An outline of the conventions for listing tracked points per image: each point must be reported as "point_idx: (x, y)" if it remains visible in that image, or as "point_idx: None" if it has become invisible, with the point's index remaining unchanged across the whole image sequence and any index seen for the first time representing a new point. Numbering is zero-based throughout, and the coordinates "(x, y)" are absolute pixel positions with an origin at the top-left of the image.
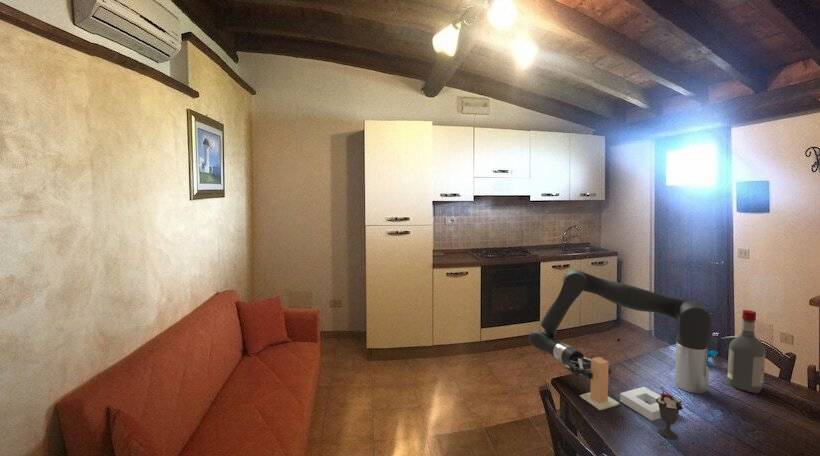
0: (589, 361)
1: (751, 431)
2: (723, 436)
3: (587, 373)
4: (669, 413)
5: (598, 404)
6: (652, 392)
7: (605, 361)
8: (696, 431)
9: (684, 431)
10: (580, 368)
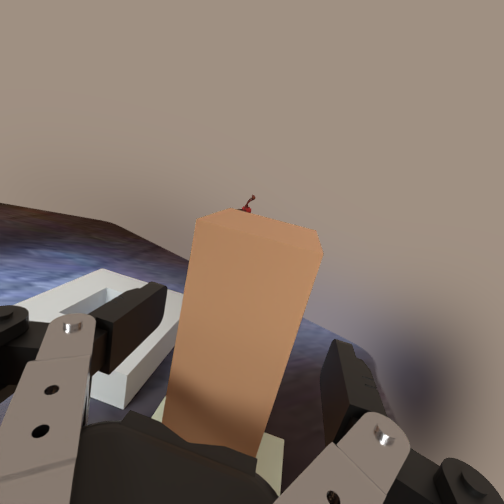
0: (77, 441)
1: (103, 240)
2: (151, 259)
3: (364, 372)
4: None
5: (258, 462)
6: (39, 300)
7: (246, 214)
8: (166, 276)
9: (184, 286)
10: (406, 440)
